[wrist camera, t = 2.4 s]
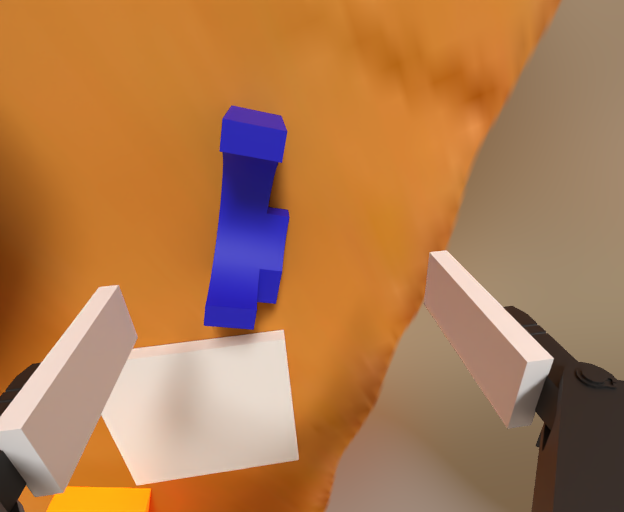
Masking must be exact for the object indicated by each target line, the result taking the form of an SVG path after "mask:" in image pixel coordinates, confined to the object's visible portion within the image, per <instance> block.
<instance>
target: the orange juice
mask: <svg viewBox="0 0 624 512" xmlns="http://www.w3.org/2000/svg"><path fill="white" fill-rule="evenodd" d="M150 493H151V488H107V487H66V489H65V491H64V493H60V494H55V495H54V497H53V499H52V501H51V503H50V505H49V507H48V509H47V511H46V512H148V511H149V502H150Z"/></svg>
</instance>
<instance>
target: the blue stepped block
mask: <svg viewBox="0 0 624 512" xmlns="http://www.w3.org/2000/svg"><path fill="white" fill-rule="evenodd" d="M286 135H287V130H286V127H285V124H284V122H283V119H282V117H281V116H280V115H275V114H270V113H265V112H260V111H255V110H251V109H246V108H241V107H236V106H231V107H230V109H229V110H228V112H227V113H226V114H225V116H224V117H223V120H222V131H221V142H220V152H223V179H222V193H221V204H220V214H219V223H218V232H217V240H216V247H215V254H214V261H213V268H212V274H211V280H210V286H209V291H208V296H207V301H206V306H205V317H204V326H216V327H228V328H240V329H253V330H254V324H255V318H256V312H257V302H263V303H274V304H276V300H277V295H278V290H279V284H280V279H281V274H282V266H283V256H284V248H285V240H286V233H287V227H288V222H289V213H288V210H285V209H278V208H272V207H268V204H269V199H270V193H271V188H272V184H273V179H274V175H275V171H276V168H277V165H278V162H281V163H282V159H283V153H284V147H285V141H286Z"/></svg>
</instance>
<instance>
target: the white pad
mask: <svg viewBox="0 0 624 512" xmlns="http://www.w3.org/2000/svg"><path fill="white" fill-rule="evenodd" d="M101 415H102V417H103V419H104V421H105V423H106V425H107V427H108V429H109V431H110V433H111V435H112V437H113V439H114V441H115V443H116V445H117V447H118V449H119V451H120V453H121V455H122V457H123V459H124V461H125V463H126V465H127V467H128V469H129V471H130V473H131V475H132V477H133V479H134V481H135V483H136V485H143V484H149V483H156V482H162V481H168V480H175V479H181V478H187V477H194V476H200V475H206V474H213V473H219V472H225V471H232V470H238V469H244V468H251V467H257V466H263V465H270V464H276V463H282V462H289V461H295V460H299V454H298V445H297V436H296V428H295V420H294V411H293V403H292V395H291V386H290V378H289V369H288V361H287V353H286V344H285V336H284V330H278V331H270V332H262V333H254V334H246V335H238V336H230V337H222V338H214V339H206V340H198V341H191V342H183V343H175V344H167V345H159V346H151V347H143V348H135V349H132V351H131V353H130V355H129V357H128V359H127V361H126V363H125V365H124V367H123V369H122V372H121V374H120V376H119V378H118V380H117V382H116V384H115V386H114V388H113V390H112V392H111V395H110V397H109V399H108V401H107V403H106V405H105V407H104V409H103V411H102V413H101Z"/></svg>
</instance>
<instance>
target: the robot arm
mask: <svg viewBox="0 0 624 512" xmlns="http://www.w3.org/2000/svg"><path fill="white" fill-rule="evenodd" d="M424 305H425V306H426V308H427V309H428V311H429V312H430V314H431V315H432V317H433V318H434V320H435V321H436V323H437V324H438V326H439V327H440V329H441V330H442V332H443V333H444V334H445V336H446V338H447V339H448V341H449V342H450V344H451V345H452V347H453V348H454V350H455V351H456V353H457V354H458V355H459V357H460V359H461V360H462V362H463V363H464V365H465V366H466V367H467V369H468V371H469V372H470V373H471V375H472V377H473V378H474V379H475V381H476V382H477V384H478V385H479V387H480V388H481V390H482V391H483V393H484V394H485V396H486V397H487V399H488V400H489V402H490V403H491V405H492V406H493V408H494V409H495V411H496V412H497V414H498V415H499V417H500V418H501V420H502V421H503V423H504V424H505V426H506V427H507V428H515V427H521V426H528V425H531V423H532V421H533V418H534V415H535V412H537V414H538V415H539V416H540V417H541V419H542V420H543V421H544V425H543V427H542V430H541V433H540V435H539V438H538V441H537V444H536V446H537V447H539V456H538V463H537V471H536V480H535V488H534V496H533V505H532V512H624V381H621V380H617V379H616V378H614V376H613V375H612V374H610V373H609V372H607V371H606V370H604V369H602V368H600V367H597V366H595V365H593V364H589V363H583V362H578V361H577V360H575V359H574V358H573V357H572V356H571V355H570V354H569V353H568V352H567V351H566V350H565V349H564V348H563V347H562V346H561V345H560V344H559V343H557V342H556V341H555V340H554V339H553V338H552V337H551V336H550V335H549V334H546V331H545V330H544V329H543V328H541V327H540V326H539V325H537V323H536V322H535V321H534V320H533V319H532V318H531V317H530V316H529V315H528V314H526V313H524V312H523V311H521V310H519V309H517V308H515V307H513V306H508V307H502V306H501V305H500V304H499V303H498V302H497V301H496V300H495V299H494V298H493V297H492V296H491V295H490V294H489V293H488V292H487V291H486V290H485V289H484V288H483V287H482V286H481V285H480V284H479V283H478V282H477V281H476V280H475V279H474V278H473V277H472V276H471V275H470V274H469V273H468V272H467V271H466V270H465V269H464V268H463V267H462V266H461V265H460V263H459V262H457V260H456V259H455V258H454V257H453V256H452V255H451V254H450V253H449V252H448V251H447V250H446V251H437V252H430V253H429V262H428V272H427V281H426V290H425V299H424ZM137 338H138V337H137V334H136V331H135V328H134V326H133V323H132V320H131V317H130V315H129V312H128V309H127V306H126V304H125V301H124V298H123V296H122V293H121V290H120V287H119V285H114V286H104V287H99V288H98V289H97V291H96V292H95V293H94V295H93V296H92V297H91V298H90V300H89V301H88V302H87V304H86V305H85V306H84V308H83V309H82V310H81V312H80V313H79V314H78V316H77V317H76V318H75V319H74V321H73V322H72V323H71V325H70V326H69V327H68V329H67V330H66V331H65V333H64V334H63V335H62V336H61V338H60V339H59V340H58V342H57V343H56V344H55V346H54V347H53V348H52V350H51V351H50V352H49V353H48V355H47V356H46V357H45V359H44V360H43V361H42V363H36V364H32V365H31V366H29V367H28V368H27V369H25V370H24V371H23V372H22V373H20V374H19V375H18V376H16V378H15V379H14V380H13V381H12V383H11V384H10V385H9V386H8V388H7V389H6V392H4V393H3V394H2V395H1V396H0V512H24V508H23V506H22V504H21V503H20V502H19V501H18V498H19V496H20V494H21V493H22V491H23V489H24V487H25V486H26V485H27V487H28V488H29V490H30V491H31V492H32V494H33V495H34V496H35V497H39V496H46V495H53V494H60V493H64V491H65V489H66V487H67V485H68V483H69V481H70V478H71V476H72V474H73V472H74V470H75V468H76V466H77V464H78V462H79V460H80V457H81V455H82V453H83V451H84V449H85V447H86V445H87V443H88V441H89V439H90V437H91V434H92V432H93V430H94V428H95V426H96V424H97V422H98V420H99V418H100V416H101V413H102V411H103V409H104V407H105V405H106V403H107V401H108V399H109V397H110V395H111V392H112V390H113V388H114V386H115V384H116V382H117V380H118V378H119V376H120V374H121V372H122V369H123V367H124V365H125V363H126V361H127V359H128V357H129V355H130V353H131V351H132V348H133V346H134V344H135V342H136V340H137Z"/></svg>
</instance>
